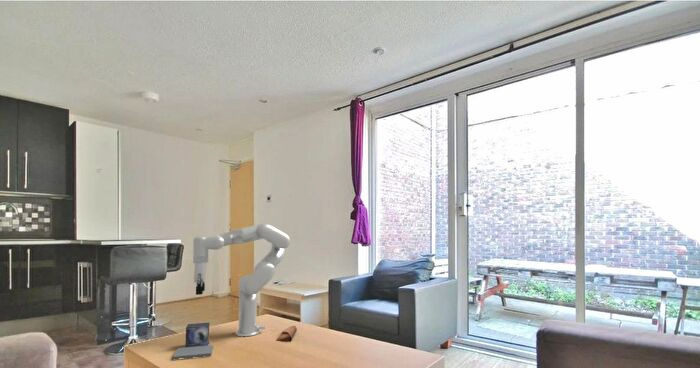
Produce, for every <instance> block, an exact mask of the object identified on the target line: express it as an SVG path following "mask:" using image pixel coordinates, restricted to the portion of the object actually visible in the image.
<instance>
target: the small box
mask: <svg viewBox="0 0 700 368" xmlns="http://www.w3.org/2000/svg"><path fill="white" fill-rule="evenodd" d="M208 344H209V345H210V322H198V323H188V324H187V325H186V327H185V344H184V345H185V347H195V346H206V345H208Z"/></svg>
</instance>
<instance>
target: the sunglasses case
mask: <svg viewBox="0 0 700 368" xmlns="http://www.w3.org/2000/svg"><path fill="white" fill-rule="evenodd" d="M297 331H298V329H297V327H296V325H291V326H289V327H287V328H285V329H284V330H282V331H281V332H280V334H279V336H278V337H277V338H276V340H275V342H276V341H281V342H282V343H284V342H285V343H287V342H288V343H289V342H290V343H291V342H292V341H293V339H294V336H295V334H296V333H297ZM281 342H280V343H281Z"/></svg>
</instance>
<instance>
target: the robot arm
mask: <svg viewBox="0 0 700 368" xmlns="http://www.w3.org/2000/svg"><path fill="white" fill-rule="evenodd" d="M192 240H193V242H192V243H193V246H192V247H193V249H192V250H193V251H192V253H193V254H192V255H193V256H192V263H193V264H194V272H193V273H194V274H193V276H194V277H193V282H194V283H195V285H196V286H195V295H197V296H198V295H203V293H204V291H206V290H205V289H206V287H205V286H206V285H205V280H206V276H207V263H209V250H213V251H214V250H216V251H217V250H220V249H222V248H223V247H226V246H230V245H243V244H247V243H251V242H254V241H259V240H265V241H267V242H269V243H270V244H271V249H270V251H269V252H268V253H267V254H266V255H265V256H264V257H263V258H262V259H261V260H260V261H259V262H258V263H257V264H256V265H255V266H254V269H253V271H254V272H253V273H252V274H245V275H243V276H241V277H240V279H239V281H238V296H239V297H238V298H239V299H238V330H236V331H235V336H237V335H239V336H238V337H243V336H245V337H252V336H255V335H258V334H259V333H260V330H265V329H266V325H263V324H260V325H259V324H258V323H257V314H258V313H257V311H258V310H257V309H258V307H257V305H258V293H259V292H260V291H261V290H262V289H264V287H265V286H266V285H267V284H268V283H269V282H270V281H271V280H272V279H273V278H274V276H275V275H276V267H278V265H279V264H280V262H282V260H283V258H284V256H285V254H286V249H287V248H288V247H289V246H290V244H291V238H290V237H289V235H288V234H286V233H285V232H283V231H282V230H280V229H277V228H276V227H274V226H272V225H271V224H269V223H260V224H255V225H251V226H246V227H243V228H238V229H234V230H230V231H226V232H222V233H217V234H213V235H211V236H206V235H205V236H204V235H203V236H195V237H194V238H193V239H192Z"/></svg>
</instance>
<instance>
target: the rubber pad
mask: <svg viewBox="0 0 700 368" xmlns="http://www.w3.org/2000/svg"><path fill="white" fill-rule="evenodd" d="M212 350H213V351H214V344H209V345H206V346H195V347H178V348H177V350H176V351H175V352H174V354H173V356H172V360H173V359H179V358H191V359H194V358H193V357H201V358H204V357H203V356H211V357H212V355H213V351H212ZM211 354H212V355H211Z"/></svg>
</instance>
